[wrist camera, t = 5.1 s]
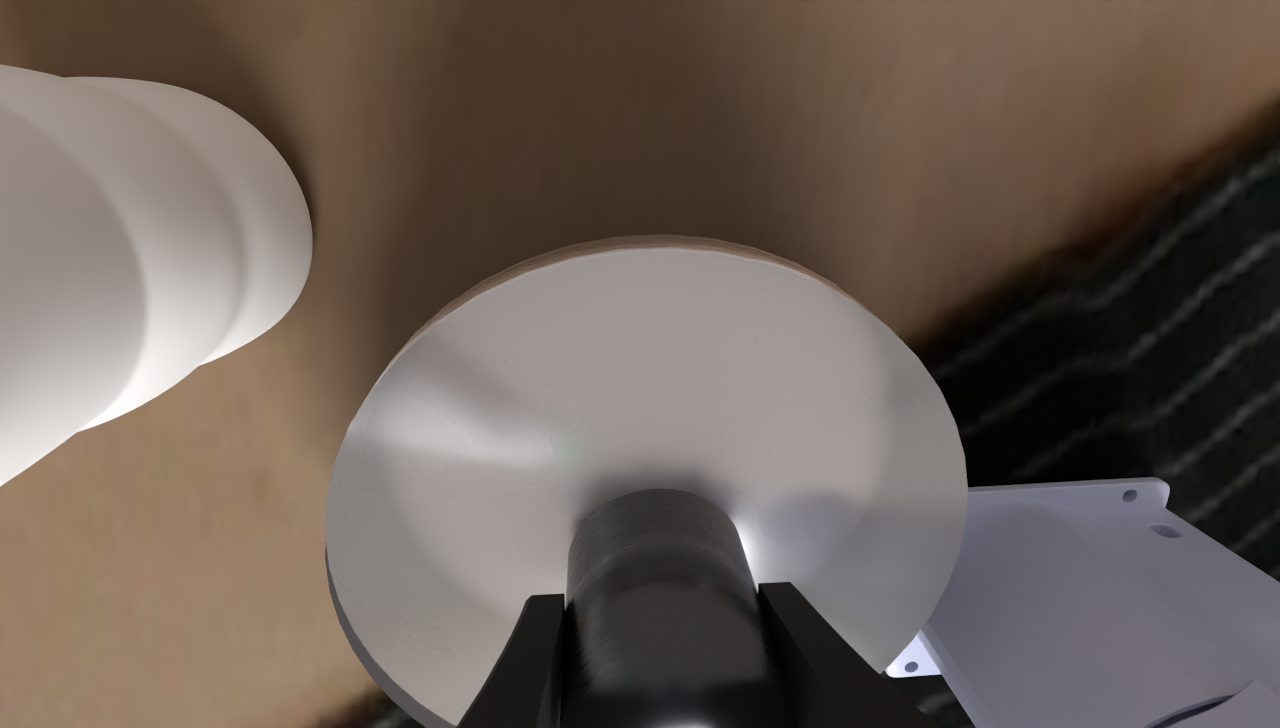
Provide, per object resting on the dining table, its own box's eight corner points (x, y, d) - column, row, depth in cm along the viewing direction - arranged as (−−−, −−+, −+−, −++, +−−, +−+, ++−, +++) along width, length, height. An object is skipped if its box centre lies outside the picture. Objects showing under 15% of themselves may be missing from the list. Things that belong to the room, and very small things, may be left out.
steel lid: (1007, 239, 12) (1271, 347, 7) (879, 712, 18) (985, 949, 13) (291, 227, 11) (72, 344, 6) (388, 732, 17) (308, 997, 12)
